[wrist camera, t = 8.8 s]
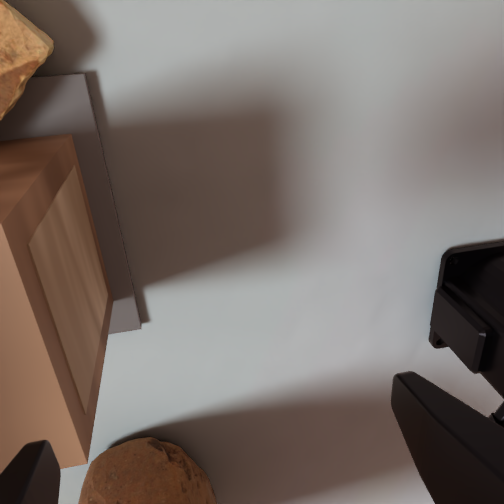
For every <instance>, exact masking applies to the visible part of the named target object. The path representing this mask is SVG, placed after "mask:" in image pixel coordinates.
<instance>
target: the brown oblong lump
mask: <svg viewBox="0 0 504 504" xmlns="http://www.w3.org/2000/svg"><path fill="white" fill-rule="evenodd" d="M78 504H217V503H216V499H215V495H214V492H213V489H212V487H211V484H210V481H209V478H208V477H207V475H206V474H205V472H204V471H203V470H202V469H201V468H199V467H198V466H197V465H196V463H195V462H194V461H193V460H192V459H191V458H189V456H188V455H187V454H186V453H185V452H184V451H183V450H182V449H181V447H180V446H177V445H174V444H171V443H169V442H160V441H159V440H157V439H155V438H152V437H147V438H140V439H134V440H130V441H127V442H125V443H122V444H120V445H118V446H115V447H112V448H110V449H107V450H106V451H104V452H103V453H101V454H100V455H99V456H98V457H97V458H96V459H95V460H94V461H92V462H91V464H90V467H89V469H88V471H87V474H86V477H85V480H84V483H83V486H82V490H81V494H80V499H79V503H78Z"/></svg>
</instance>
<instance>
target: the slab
mask: <svg viewBox="0 0 504 504" xmlns="http://www.w3.org/2000/svg"><path fill="white" fill-rule="evenodd" d="M112 308H113V297H112V293H111V289H110V285H109V281H108V277H107V273H106V269H105V265H104V262H103V258H102V254H101V250H100V246H99V242H98V238H97V234H96V230H95V226H94V222H93V218H92V214H91V210H90V206H89V202H88V198H87V194H86V190H85V186H84V182H83V178H82V174H81V170H80V166H79V162H78V158H77V155H76V151H75V147H74V143H73V139H72V135H71V134H64V135H54V136H44V137H34V138H25V139H15V140H5V141H0V474H1V472H2V471H3V470H4V469H5V468H6V466H7V465H8V464H9V463H10V462H11V460H12V459H13V458H14V457H15V456H16V454H17V453H18V452H19V451H20V450H21V448H22V447H23V446H24V445H26V444H27V443H29V442H34V441H39V440H48V441H49V442H50V444H51V446H52V448H53V451H54V453H55V456H56V458H57V460H58V463H59V466H60V469H63V468H68V467H73V466H78V465H83V464H87V463H88V457H89V451H90V444H91V438H92V432H93V426H94V420H95V413H96V407H97V401H98V395H99V388H100V382H101V376H102V370H103V364H104V357H105V351H106V345H107V339H108V332H109V326H110V320H111V314H112Z"/></svg>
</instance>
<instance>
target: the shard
mask: <svg viewBox="0 0 504 504" xmlns="http://www.w3.org/2000/svg"><path fill="white" fill-rule="evenodd" d="M53 44H54V41H53V40H52V39H51V38H50V37H49V36H48V35H47V34H46V33H45V32H43V31H41V30H40V29H38V28H37V27H36V26H35V25H34V24H33V23H32V22H30V21H29V20H28V19H27V18H25V17H24V16H23V15H22V14H20V13H19V12H18V11H17V10H16V9H15V8H13V7H12V6H10V5H9V4H8V3H7V2H5V1H4V0H0V121H1V120H2V119H3V117H4V116H5V115H6V114H7V113H8V112H9V111H10V110H11V109H12V108H13V107H14V105H15V104H16V102H17V101H18V99H19V98H20V97H21V95H22V94H23V92H24V89H25V85H26V83H27V81H28V80H29V78H30V77H31V76H32V75H33V74H34V73H35V72H36V70H37V68H38V67H39V66H40V65H42V64H43V63H44V62H45V61H46V58H47V57H48V56H49V55H51V54H52V52H53V49H54V46H53Z"/></svg>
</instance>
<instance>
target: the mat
mask: <svg viewBox="0 0 504 504" xmlns="http://www.w3.org/2000/svg"><path fill="white" fill-rule="evenodd" d="M64 134H71V135H72V139H73V143H74V147H75V151H76V155H77V158H78V162H79V166H80V170H81V174H82V178H83V182H84V186H85V190H86V194H87V198H88V202H89V206H90V210H91V214H92V218H93V222H94V226H95V230H96V234H97V238H98V242H99V246H100V250H101V254H102V258H103V262H104V265H105V269H106V273H107V277H108V281H109V285H110V289H111V293H112V297H113V308H112V314H111V320H110V326H109V332H108V334H113V333H119V332H126V331H132V330H138V329H141V320H140V316H139V311H138V307H137V302H136V298H135V293H134V289H133V284H132V280H131V275H130V271H129V267H128V262H127V258H126V253H125V249H124V244H123V240H122V235H121V231H120V226H119V222H118V217H117V213H116V208H115V204H114V199H113V195H112V191H111V186H110V182H109V177H108V173H107V168H106V164H105V159H104V155H103V150H102V146H101V141H100V137H99V132H98V128H97V123H96V119H95V115H94V110H93V106H92V101H91V97H90V92H89V88H88V83H87V79H86V74H85V73H79V74H67V75H55V76H43V77H32V78H29V80H28V81H27V83H26V85H25V89H24V92H23V94H22V95H21V97H20V98H19V99H18V101H17V102H16V104H15V105H14V107H13V108H12V109H11V110H10V111H9V112H8V113H7V114H6V115H5V116H4V117H3V119H2V120H1V121H0V141H5V140H15V139H25V138H34V137H44V136H54V135H64Z"/></svg>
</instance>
